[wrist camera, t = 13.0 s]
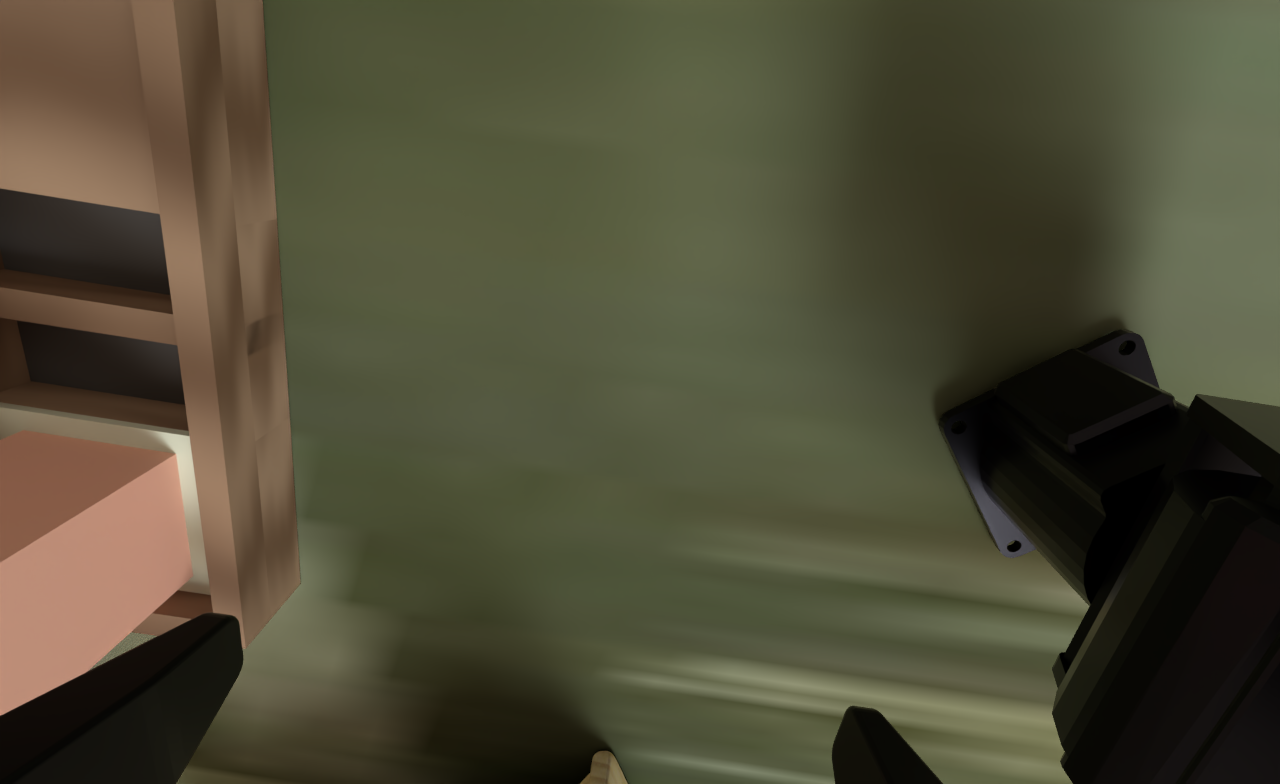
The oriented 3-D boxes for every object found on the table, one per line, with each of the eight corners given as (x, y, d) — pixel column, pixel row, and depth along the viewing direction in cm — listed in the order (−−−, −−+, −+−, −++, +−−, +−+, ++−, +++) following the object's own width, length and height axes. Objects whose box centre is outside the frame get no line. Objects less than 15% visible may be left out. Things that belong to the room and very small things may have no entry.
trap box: (-111, -124, 17) (-300, -191, 13) (258, -61, 17) (160, -112, 14) (53, 546, 25) (-41, 606, 21) (300, 583, 25) (245, 648, 22)
